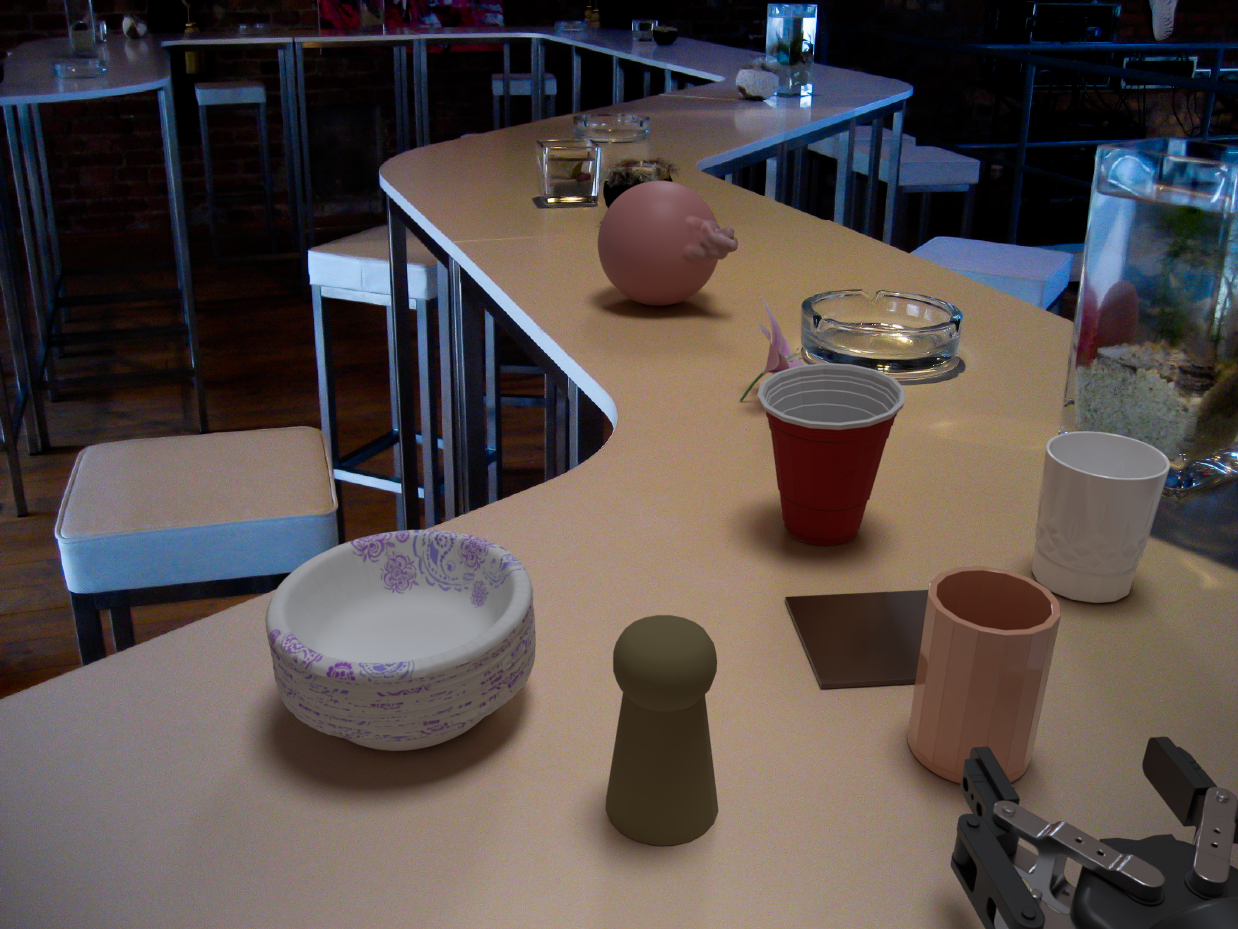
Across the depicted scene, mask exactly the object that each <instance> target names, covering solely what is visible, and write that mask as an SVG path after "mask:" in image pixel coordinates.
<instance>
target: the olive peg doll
mask: <svg viewBox="0 0 1238 929" xmlns="http://www.w3.org/2000/svg"><path fill="white" fill-rule="evenodd" d="M717 670H718V656H717V649H716V646H715V642H714V641H713V640H712V638H711V637H710V634H708V633H707V630H705V628H704V627H702V626H701V625H700V624H698V623H697V622H696V621H693V620H691V619H688V618H686V617H682V616H677V615H671V614H657V615H656V614H655V615H651V616H645V617H642V618H639V619H637V620H635V621H633V622H632V623H630V624H629V625H628V626H626V627H625V628H624V630H623V631H622V632H621V634H619V637H618V638H617V640H616V642H615V644H614V647H613V651H612V671H613V674H614V678H615V681H616V683H617V685H618V686H619V689H620V690H621V691H622V694H621V695H622V696H621V702H620V708H619V714H618V721H617V728H616V733H615V739H614V746H613V752H612V757H611V765H610V770H609V776H608V783H607V789H606V795H605V796H606V797H605V812H606V814H607V816H608V818H609V820H610V823H611V824H612V825H613V826H614V827H615V828H616V830H618V831H619V833H621V834H623V835H625V836H627V837H628V838H630V839H632V840H634V841H635V842H639V843H642V844H646V845H651V846H676V845H680V844H685V843H689V842H692V841H693V840H695V839H697V838H699V837H701V836H703V835H704V834H705V833H707V831H708V830H709V829H710V828H711V827H712V826H713V824H715V822H716V819H717V815H718V813H719V804H718V794H717V786H716V777H715V769H714V768H715V767H714V760H713V752H712V750H713V749H712V742H711V734H710V733H711V732H710V726H709V724H710V723H709V716H708V707H707V700H706V695H707V693H708V692H709V691H710V690H711V687H712V685H713V683H714V680H715V677H716V675H717V673H718V671H717Z"/></svg>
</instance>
